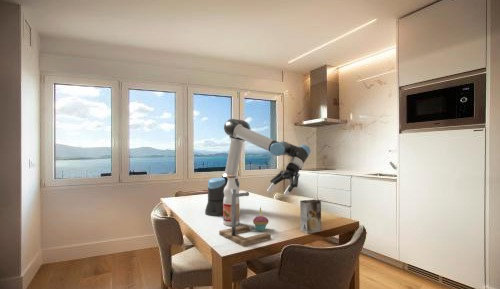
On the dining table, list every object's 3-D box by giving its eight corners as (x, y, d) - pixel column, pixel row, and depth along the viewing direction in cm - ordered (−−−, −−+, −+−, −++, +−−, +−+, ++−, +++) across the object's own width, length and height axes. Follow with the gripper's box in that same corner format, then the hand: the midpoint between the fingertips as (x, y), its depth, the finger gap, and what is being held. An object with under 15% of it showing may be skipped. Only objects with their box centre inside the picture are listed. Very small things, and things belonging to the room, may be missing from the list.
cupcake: (252, 227, 150) (252, 205, 150) (267, 227, 151) (267, 205, 151) (253, 232, 142) (253, 209, 142) (269, 231, 142) (269, 209, 143)
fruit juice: (239, 226, 153) (239, 176, 153) (222, 226, 153) (222, 176, 153) (239, 221, 162) (239, 174, 162) (224, 221, 162) (224, 174, 163)
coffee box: (314, 228, 149) (314, 199, 149) (321, 231, 143) (321, 201, 143) (300, 230, 145) (300, 200, 145) (307, 233, 139) (307, 202, 139)
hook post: (230, 234, 131) (230, 189, 131) (247, 231, 137) (247, 187, 137) (233, 236, 129) (233, 189, 130) (249, 232, 135) (250, 188, 136)
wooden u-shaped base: (219, 234, 137) (219, 230, 137) (246, 228, 148) (246, 225, 148) (242, 246, 122) (242, 241, 122) (270, 238, 132) (270, 234, 132)
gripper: (313, 171, 154) (296, 201, 145) (282, 169, 174) (265, 195, 164) (307, 162, 151) (288, 192, 141) (276, 161, 171) (258, 187, 161)
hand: (276, 194), depth 153 cm, fingers open, 13 cm apart
